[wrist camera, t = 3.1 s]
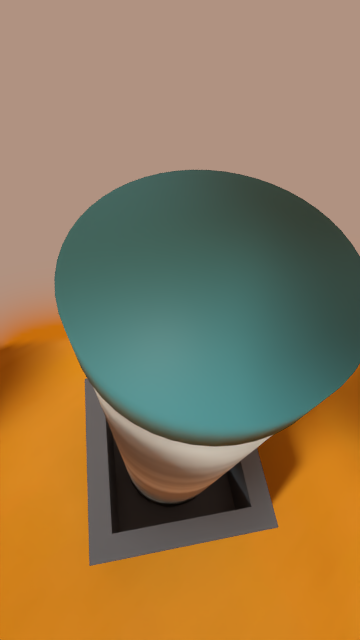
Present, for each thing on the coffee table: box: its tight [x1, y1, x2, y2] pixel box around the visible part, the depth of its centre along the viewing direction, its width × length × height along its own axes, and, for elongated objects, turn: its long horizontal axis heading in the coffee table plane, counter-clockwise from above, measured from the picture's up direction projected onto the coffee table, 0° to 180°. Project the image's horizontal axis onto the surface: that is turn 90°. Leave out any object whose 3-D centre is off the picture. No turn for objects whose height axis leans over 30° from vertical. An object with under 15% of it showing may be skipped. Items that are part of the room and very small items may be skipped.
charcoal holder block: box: [85, 379, 278, 566], centre depth 15 cm, size 7×7×4 cm
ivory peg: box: [55, 170, 360, 507], centre depth 10 cm, size 4×4×14 cm
